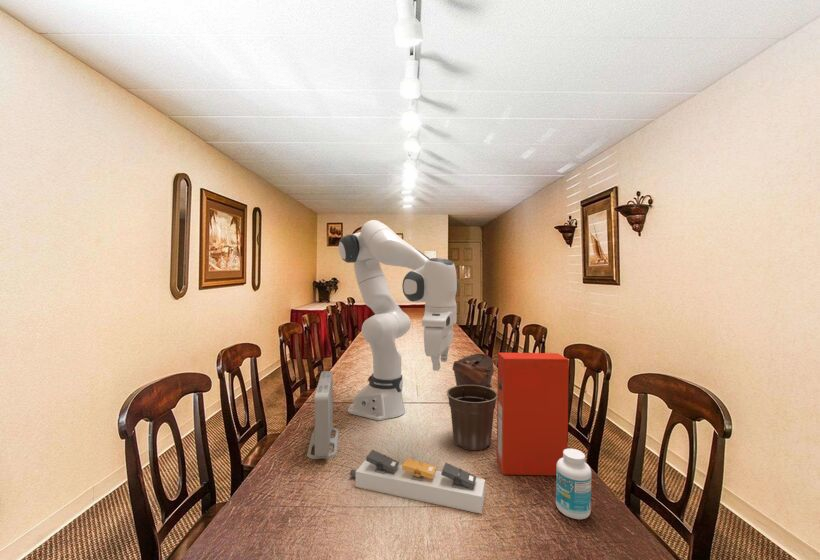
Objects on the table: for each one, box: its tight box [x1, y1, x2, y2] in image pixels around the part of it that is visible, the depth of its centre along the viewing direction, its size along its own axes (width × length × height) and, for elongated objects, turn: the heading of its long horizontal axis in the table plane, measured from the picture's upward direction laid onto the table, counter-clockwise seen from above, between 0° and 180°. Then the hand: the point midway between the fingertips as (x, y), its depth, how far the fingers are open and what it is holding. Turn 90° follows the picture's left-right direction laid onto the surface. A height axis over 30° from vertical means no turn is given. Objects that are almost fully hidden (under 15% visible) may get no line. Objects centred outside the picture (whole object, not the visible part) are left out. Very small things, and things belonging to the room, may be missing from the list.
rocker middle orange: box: [402, 457, 437, 479], centre depth 89 cm, size 8×4×2 cm, turn 72°
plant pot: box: [446, 385, 497, 451], centre depth 115 cm, size 16×16×16 cm
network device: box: [306, 370, 340, 460], centre depth 113 cm, size 26×9×20 cm, turn 9°
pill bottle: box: [555, 448, 593, 520], centre depth 82 cm, size 8×7×14 cm
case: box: [452, 353, 494, 389], centre depth 154 cm, size 18×20×18 cm
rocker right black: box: [441, 462, 477, 489], centre depth 86 cm, size 8×4×2 cm, turn 73°
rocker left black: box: [365, 449, 400, 474], centre depth 92 cm, size 8×4×2 cm, turn 73°
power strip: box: [349, 459, 486, 515], centre depth 89 cm, size 35×7×4 cm, turn 72°
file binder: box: [496, 352, 570, 476], centre depth 99 cm, size 8×17×32 cm, turn 89°
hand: (440, 365), depth 99 cm, fingers open, 8 cm apart
